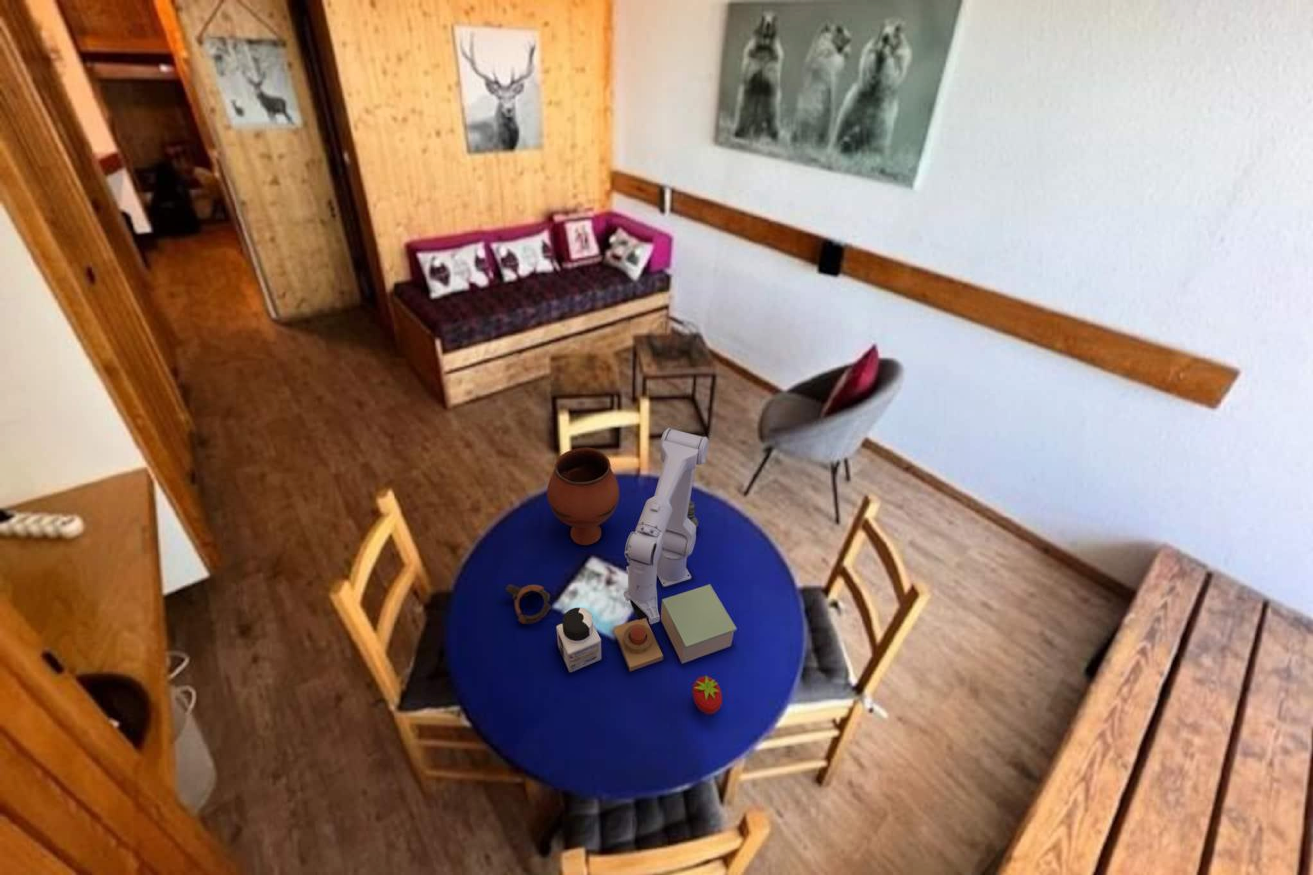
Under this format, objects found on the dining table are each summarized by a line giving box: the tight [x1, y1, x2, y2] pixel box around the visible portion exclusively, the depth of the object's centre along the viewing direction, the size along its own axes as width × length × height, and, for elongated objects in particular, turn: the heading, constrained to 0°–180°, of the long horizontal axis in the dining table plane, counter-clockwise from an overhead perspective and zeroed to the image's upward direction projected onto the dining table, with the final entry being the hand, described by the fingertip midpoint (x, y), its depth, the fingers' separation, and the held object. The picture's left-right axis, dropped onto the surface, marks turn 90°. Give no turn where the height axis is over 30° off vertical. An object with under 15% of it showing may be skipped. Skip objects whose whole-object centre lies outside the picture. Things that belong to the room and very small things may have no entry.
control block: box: [613, 617, 664, 672], centre depth 132 cm, size 11×8×4 cm
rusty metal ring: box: [505, 583, 552, 625], centre depth 138 cm, size 12×10×8 cm
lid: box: [661, 583, 738, 648], centre depth 132 cm, size 13×13×1 cm
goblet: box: [546, 447, 620, 546], centre depth 153 cm, size 19×19×25 cm
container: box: [555, 607, 602, 673], centre depth 127 cm, size 8×8×13 cm
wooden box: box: [660, 602, 735, 664], centre depth 135 cm, size 13×13×7 cm
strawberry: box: [692, 674, 723, 715], centre depth 119 cm, size 6×8×10 cm
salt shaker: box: [687, 499, 699, 528], centre depth 159 cm, size 6×6×12 cm
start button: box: [630, 626, 646, 644], centre depth 131 cm, size 4×4×2 cm
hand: (641, 616), depth 128 cm, fingers closed
